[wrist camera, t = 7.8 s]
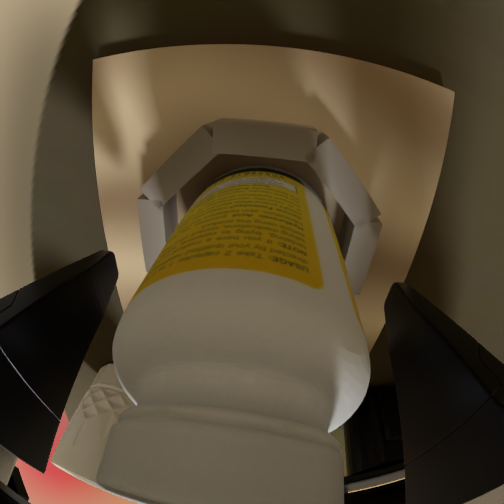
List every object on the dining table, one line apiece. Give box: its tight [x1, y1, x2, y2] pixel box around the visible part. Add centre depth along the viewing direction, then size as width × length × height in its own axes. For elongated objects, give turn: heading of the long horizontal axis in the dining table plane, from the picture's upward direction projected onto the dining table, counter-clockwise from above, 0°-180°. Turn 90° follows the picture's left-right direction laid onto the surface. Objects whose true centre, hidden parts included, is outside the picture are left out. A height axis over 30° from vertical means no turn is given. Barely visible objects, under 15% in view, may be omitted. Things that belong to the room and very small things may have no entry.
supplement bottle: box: [96, 165, 371, 504], centre depth 7 cm, size 5×5×10 cm
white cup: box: [51, 363, 140, 504], centre depth 16 cm, size 8×8×10 cm
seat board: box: [92, 44, 455, 353], centre depth 11 cm, size 14×14×2 cm
